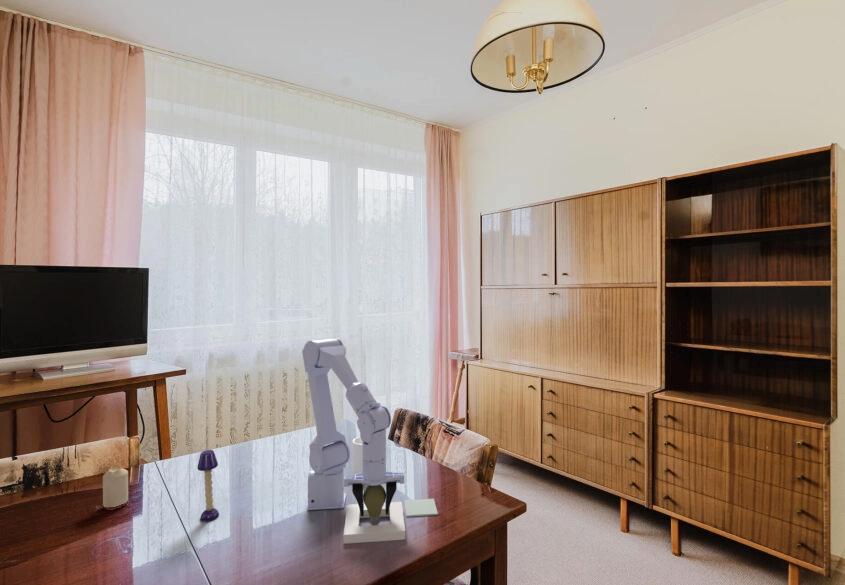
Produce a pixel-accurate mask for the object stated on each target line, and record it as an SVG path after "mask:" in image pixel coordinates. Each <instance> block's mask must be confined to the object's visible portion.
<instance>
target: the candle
mask: <svg viewBox="0 0 845 585" xmlns="http://www.w3.org/2000/svg"><path fill="white" fill-rule="evenodd" d="M127 501H128V502H129V471H128V470H127V469H125V468H122V467H117V466H114V467H112V468H110V469H108V471H106V472H105V473H104V474H103V476H102V507H103V506H104V507H107V508H108V507H116V506H119V505H121V504H124V503H126V502H127Z"/></svg>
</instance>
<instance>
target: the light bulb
mask: <svg viewBox="0 0 845 585" xmlns="http://www.w3.org/2000/svg"><path fill="white" fill-rule="evenodd" d="M366 486H367V485H366ZM384 503H386V488H384V487H383V486H382V485H381V484H379V485H375V486H371V485H370V484H368V486H367V487H365V489H364V490H363V504H365V505H366V507H367V510H368V514H369V516H370V518H369V524H370V526H371V525H380V522H381V521H380V518H381V517H380V514H381V510H382V507H383V505H384Z"/></svg>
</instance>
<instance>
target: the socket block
mask: <svg viewBox="0 0 845 585" xmlns="http://www.w3.org/2000/svg"><path fill="white" fill-rule="evenodd" d="M363 504H364V516H361V514H360V509H359V505H358V503H355V504H353V503H352V504H347V505H346V513H345V521H344V528H343V545H345V544H360V543H375V542H389V541H404V540H406V526H405V525H406V524H405V518H404V517H405V516H404V510H403V503H402V501H391V504H390V508H389V514H388V515H386V511H385V505H386V502H385V503H384V505H383V507H382V510H381V514H380V518H382V517H383V518H385V517H389V524H388V523H387V524H377V525H371V524H370V525H360V521H361V519H370V516H369V514H368V510H367V507H366V505H365V503H363Z"/></svg>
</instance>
